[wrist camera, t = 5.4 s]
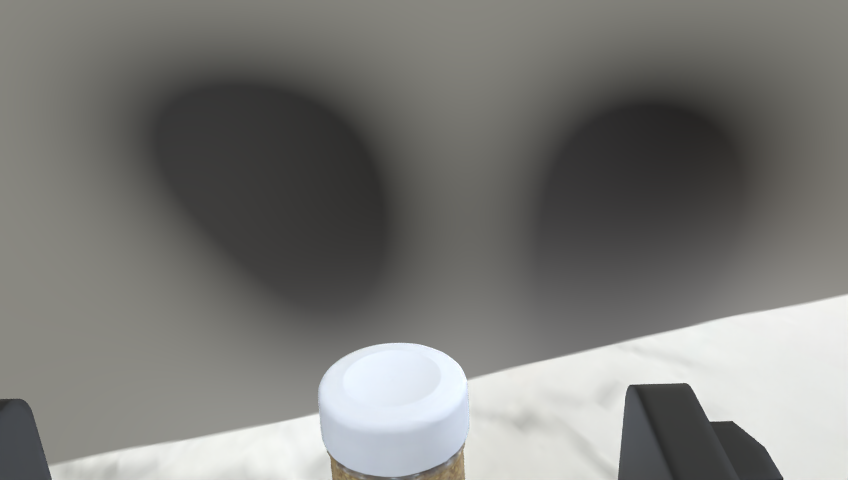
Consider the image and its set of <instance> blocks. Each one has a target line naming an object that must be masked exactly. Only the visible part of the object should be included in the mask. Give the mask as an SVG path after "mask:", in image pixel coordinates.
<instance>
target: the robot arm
mask: <svg viewBox="0 0 848 480" xmlns="http://www.w3.org/2000/svg"><path fill="white" fill-rule="evenodd" d="M0 480H52V478H51V475H50V471H49V468H48V464H47V461H46V458H45V454H44V451H43V448H42V444H41V441H40V437H39V434H38V430H37V427H36V423H35V420H34V416H33V413H32V410H31V408H30V407H29V405H28V404H27V403H26V402H25V401H24V400H22V399H0ZM618 480H783V477H782V475H781V474H780V472H779V470H778V469H777V467H776V465H775V464H774V462H773V460H772V459H771V457H770V455H769V454H768V452H767V450H766V449H765V447H764V446H762V445H761V444H760V443H759V442H757V441H756V440H755V439H754V438H753V437H751V436H750V435H749V434H748V433H746V432H745V431H744V430H743V429H741V428H740V427H739V426H738V425H737V424H735V423H734V422H733V421H723V422H709V420H708V418H707V416H706V415H705V413H704V411H703V409H702V407H701V405H700V403H699V401H698V399H697V397H696V395H695V394H694V392H693V390H692V388H691V387H690V386H689V385H688V384H687V383H680V384H641V385H630V386H629V387H628V389H627V392H626V397H625V407H624V418H623V429H622V440H621V451H620V463H619V474H618Z"/></svg>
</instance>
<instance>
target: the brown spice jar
mask: <svg viewBox="0 0 848 480" xmlns="http://www.w3.org/2000/svg"><path fill="white" fill-rule="evenodd" d="M318 402H319V414H320V424H321V433H322V439H323V442H324V444H325V447H326V448H327V452H328V454H329V456H330V459H331V469H332V478H333V480H465V473H464V454H463V449H464V445H465V440H466V438H467V435H468V431H469V401H468V386H467V380H466V377H465V374H464V372H463V370H462V369H461V367H460V366H459V365H458V363H457V362H455V361H454V360H453V359H452V358H451V357H449V356H448V355H446V354H444V353H443V352H441V351H438V350H436V349H433V348H430V347H427V346H423V345H418V344H410V343H388V344H380V345H374V346H370V347H366V348H363V349H360V350H357V351H355V352H353V353H351V354H348V355H347V356H345V357H343V358H341V359H340V360H338V361H337V362H336V363H335V364H334V365H332V366H331V367H330V368H329V369H328V371H327V372H326V373H325V375H324V376H323V378H322V380H321V383H320V386H319V390H318Z"/></svg>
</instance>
